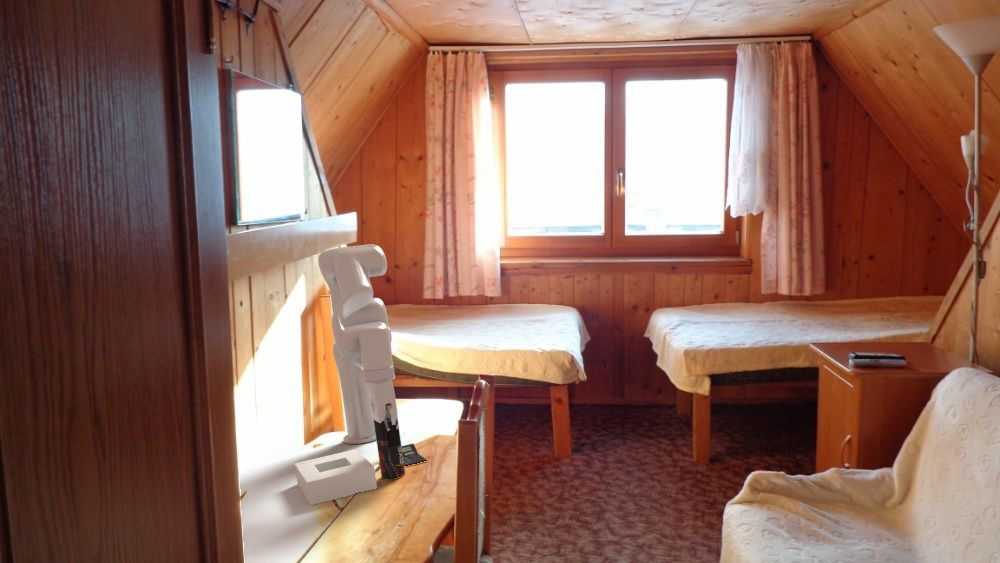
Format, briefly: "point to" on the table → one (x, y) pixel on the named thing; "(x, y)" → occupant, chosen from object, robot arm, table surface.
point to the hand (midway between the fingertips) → (389, 442)
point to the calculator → (411, 455)
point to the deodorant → (388, 454)
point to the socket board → (335, 476)
